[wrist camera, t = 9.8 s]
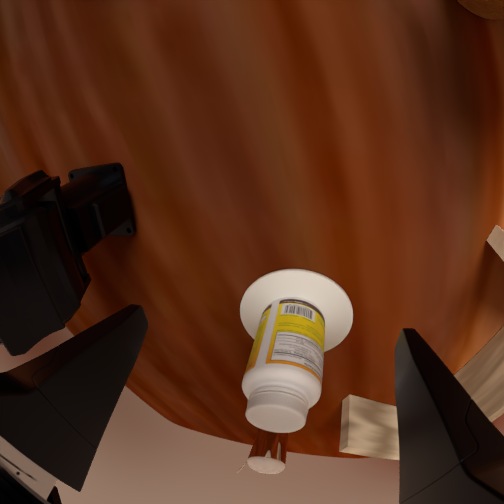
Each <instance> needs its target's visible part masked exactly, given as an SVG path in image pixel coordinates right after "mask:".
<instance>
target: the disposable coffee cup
mask: <svg viewBox="0 0 504 504" xmlns="http://www.w3.org/2000/svg"><path fill="white" fill-rule="evenodd" d="M456 1H458V2H459V3H460V4H461V5H462V6H463V7H465V8H466V9H467V10H469V11H470V12H472V13H473V14H475V15H477V16H480V17H482V18H485V19H491V20H495V19H504V0H456Z"/></svg>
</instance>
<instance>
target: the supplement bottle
mask: <svg viewBox="0 0 504 504" xmlns="http://www.w3.org/2000/svg"><path fill="white" fill-rule="evenodd" d="M324 341H325V319H324V315H323V313H322V311H321V310H320V309H319V308H318V306H316V305H315V304H314V303H313V302H311V301H309V300H307V299H304V298H300V297H283V298H279V299H277V300H274V301H273V302H271V303H270V304H269V305H268V306H267V307H266V308H265V309H264V311H263V313H262V316H261V319H260V323H259V326H258V330H257V333H256V337H255V340H254V344H253V347H252V351H251V354H250V357H249V361H248V364H247V367H246V371H245V374H244V377H243V381H242V390H243V392H244V394H245V396H246V397H247V399H248V405H247V409H246V413H245V415H246V418H247V420H248V421H249V422H250V423H251V424H252V425H254V426H256V427H258V428H260V429H263V430H266V431H270V432H277V433H289V432H294V431H297V430H300V429H301V428H302V427H303V426H304V425H305V423H306V418H307V413H308V409H309V408H311V407H312V406H313V405H315V404H316V402H317V401H318V400H319V398H320V395H321V388H322V374H323V358H324Z"/></svg>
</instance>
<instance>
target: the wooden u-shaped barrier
mask: <svg viewBox="0 0 504 504" xmlns="http://www.w3.org/2000/svg"><path fill="white" fill-rule="evenodd" d="M486 241H487V242H488V243H489V244H490V245H491V246H492V248H493V249H494V250H495V251H496V253H497V254H498V255H499V256H500V257H501V259H502V260H503V261H504V230H502V229H501V228H500V227H499V226H498V225H496V226H495V227H494V229H493V230H492V232H491V234H490V235H489V237H488V238H487V240H486ZM454 376H455V377H456V379H457V380H458V381H459V382H460V384H461V385H462V386H463V387H464V389H465V390H466V391H467V393H468V394H469V395H470V396H471V399H473V400H474V401H475V403H476V404H477V405H478V407H479V408H480V409H481V410H482V412H483V413H484V414H485V415H486V417H487V418H488V419H489V420H490V421H491V422H492V421H494V420H495V419H496V418H497V417H499V416H500V415H502V414H503V413H504V326H503V327H502V328H501V329H500V330H499V331H498V333H497V334H496V335H495V336H494V337H493V338H492V339H491V340H490V341H489V342H488V343H487V344H486V345H485V346H484V347H483V348H482V349H481V350H480V351H479V352H478V353H477V354H476V355H475V356H474V357H473V358H472V359H471V360H470V361H469V362H468V363H467V364H466V365H465V366H464V367H462V368H461V369H460V370H459V371H458V372H457V373H456V374H455V375H454ZM339 451H340V452H345V453H351V454H357V455H363V456H370V457H377V458H385V459H394V460H399V437H398V421H397V408H396V406H392V405H388V404H384V403H380V402H376V401H372V400H368V399H365V398H361V397H358V396H354V395H351V394H349V395H348V396H347V397H346V398H345V399H343V400H342V418H341V435H340V448H339Z"/></svg>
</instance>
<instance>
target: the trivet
mask: <svg viewBox="0 0 504 504" xmlns="http://www.w3.org/2000/svg"><path fill="white" fill-rule="evenodd" d="M283 297H300V298H304V299H307V300H309V301H311V302H313V303H314V304H315V305H316V306H318V308H319V309H320V310H321V311H322V313H323V315H324V319H325V341H324V352H326V351H328V350H330V349H332V348H334V347H335V346H337V345H338V344H339V343H340V342H342V340H343V339H344V338H345V337H346V336H347V334H348V333H349V331H350V329H351V326H352V322H353V310H352V305H351V301H350V299H349V297H348V295H347V294H346V292H345V291H344V290H343V289H342V288H341V286H339V285H338V284H337V283H336V282H335V281H333V280H332V279H330V278H328V277H326V276H324V275H322V274H320V273H317V272H314V271H309V270H304V269H283V270H278V271H273V272H271V273H268V274H266V275H264V276H262V277H260V278H258V279H257V280H256V281H254V282H253V283H252V284H251V285H250V286H249V287H248V289H247V290H246V292H245V294H244V296H243V298H242V301H241V305H240V316H241V320H242V323H243V325H244V327H245V329H246V331H247V332H248V333H249V335H250V336H251V337H252V338H253V339H254V340H255V337H256V333H257V330H258V326H259V323H260V319H261V316H262V313H263V311H264V309H265V308H266V307H267V306H268V305H269V304H270V303H271V302H273V301H274V300H277V299H279V298H283Z"/></svg>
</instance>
